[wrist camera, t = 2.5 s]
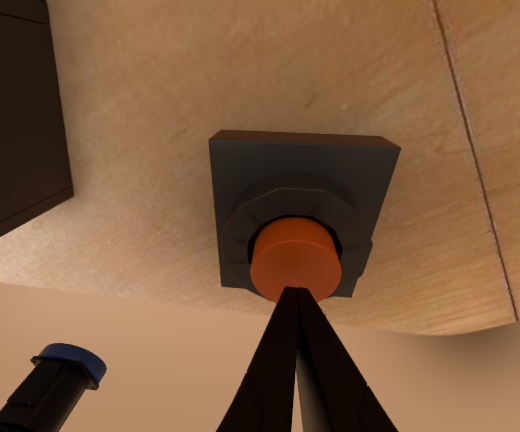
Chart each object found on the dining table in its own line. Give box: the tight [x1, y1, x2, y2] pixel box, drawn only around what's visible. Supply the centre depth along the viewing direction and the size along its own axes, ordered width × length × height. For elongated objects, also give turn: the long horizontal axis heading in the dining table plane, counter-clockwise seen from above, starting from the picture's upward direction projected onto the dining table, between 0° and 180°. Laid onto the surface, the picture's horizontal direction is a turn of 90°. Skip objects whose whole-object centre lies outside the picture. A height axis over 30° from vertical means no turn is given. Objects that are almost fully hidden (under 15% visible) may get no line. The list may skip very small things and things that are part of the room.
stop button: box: [250, 217, 341, 303], centre depth 10 cm, size 4×4×2 cm
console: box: [209, 130, 401, 301], centre depth 12 cm, size 9×8×4 cm
